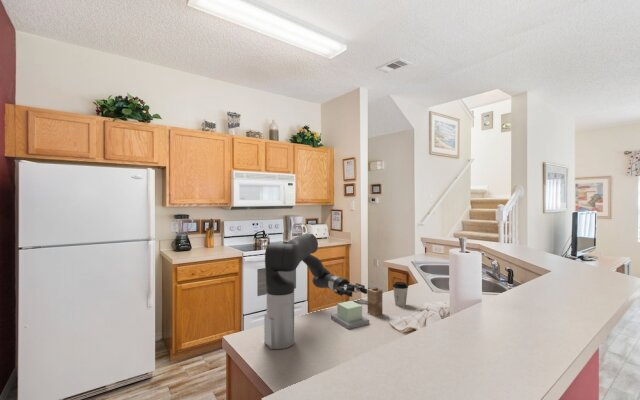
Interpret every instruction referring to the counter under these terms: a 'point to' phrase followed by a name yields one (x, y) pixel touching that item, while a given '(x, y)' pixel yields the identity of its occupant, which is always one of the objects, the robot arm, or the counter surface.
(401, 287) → the coffee cup
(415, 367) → the counter surface
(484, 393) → the counter surface
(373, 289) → the walnut pillar block
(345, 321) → the foundation
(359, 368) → the counter surface
